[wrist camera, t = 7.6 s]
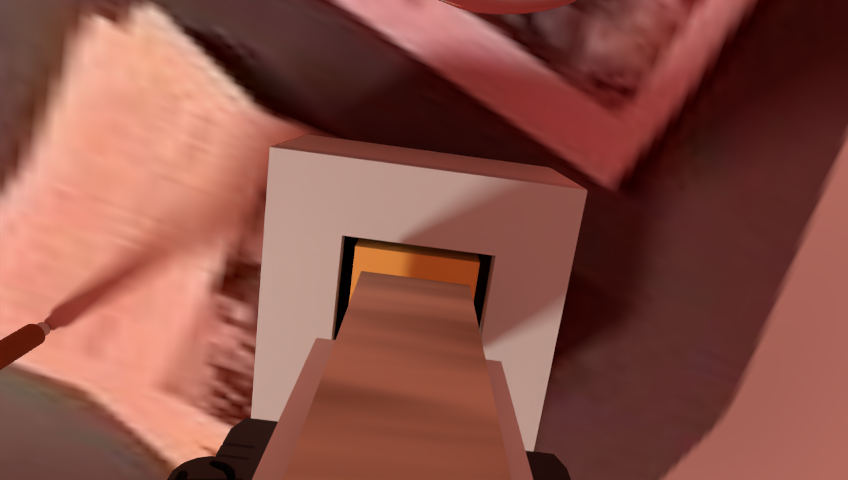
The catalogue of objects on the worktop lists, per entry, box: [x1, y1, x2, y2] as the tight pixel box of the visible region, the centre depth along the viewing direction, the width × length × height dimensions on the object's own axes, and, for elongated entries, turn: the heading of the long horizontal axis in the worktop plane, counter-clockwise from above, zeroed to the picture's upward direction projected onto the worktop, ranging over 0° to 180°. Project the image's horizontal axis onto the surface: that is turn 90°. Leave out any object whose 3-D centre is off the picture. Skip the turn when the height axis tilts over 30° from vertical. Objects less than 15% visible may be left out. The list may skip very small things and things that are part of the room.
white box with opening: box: [251, 134, 588, 451], centre depth 26 cm, size 12×12×7 cm
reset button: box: [349, 238, 480, 302], centre depth 25 cm, size 5×5×3 cm
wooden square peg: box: [283, 271, 511, 480], centre depth 13 cm, size 4×4×17 cm
